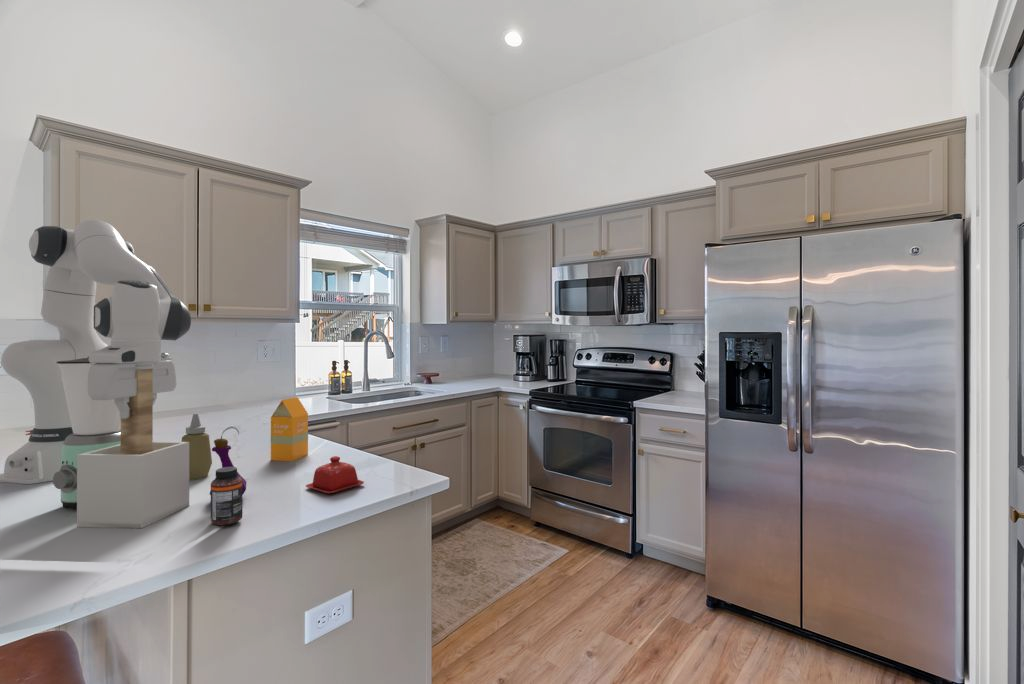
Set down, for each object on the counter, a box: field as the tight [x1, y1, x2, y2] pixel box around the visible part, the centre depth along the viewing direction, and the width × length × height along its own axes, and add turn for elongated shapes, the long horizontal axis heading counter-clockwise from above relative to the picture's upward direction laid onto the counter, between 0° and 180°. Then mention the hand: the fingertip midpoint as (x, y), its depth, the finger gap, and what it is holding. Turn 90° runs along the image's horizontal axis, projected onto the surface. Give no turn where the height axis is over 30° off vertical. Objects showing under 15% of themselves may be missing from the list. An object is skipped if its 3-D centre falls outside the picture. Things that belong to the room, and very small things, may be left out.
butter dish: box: [305, 456, 365, 494], centre depth 131 cm, size 12×12×8 cm
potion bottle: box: [209, 425, 247, 496], centre depth 120 cm, size 8×8×18 cm
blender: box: [52, 356, 121, 508], centre depth 119 cm, size 19×13×35 cm
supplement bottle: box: [210, 466, 243, 526], centre depth 106 cm, size 6×6×11 cm
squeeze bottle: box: [180, 413, 213, 481], centre depth 140 cm, size 8×8×18 cm
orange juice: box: [270, 396, 309, 462], centre depth 161 cm, size 8×9×20 cm
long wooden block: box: [121, 369, 154, 455], centre depth 109 cm, size 4×4×30 cm
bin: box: [76, 440, 190, 529], centre depth 109 cm, size 14×14×15 cm
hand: (136, 416), depth 109 cm, fingers closed on long wooden block, 4 cm apart
